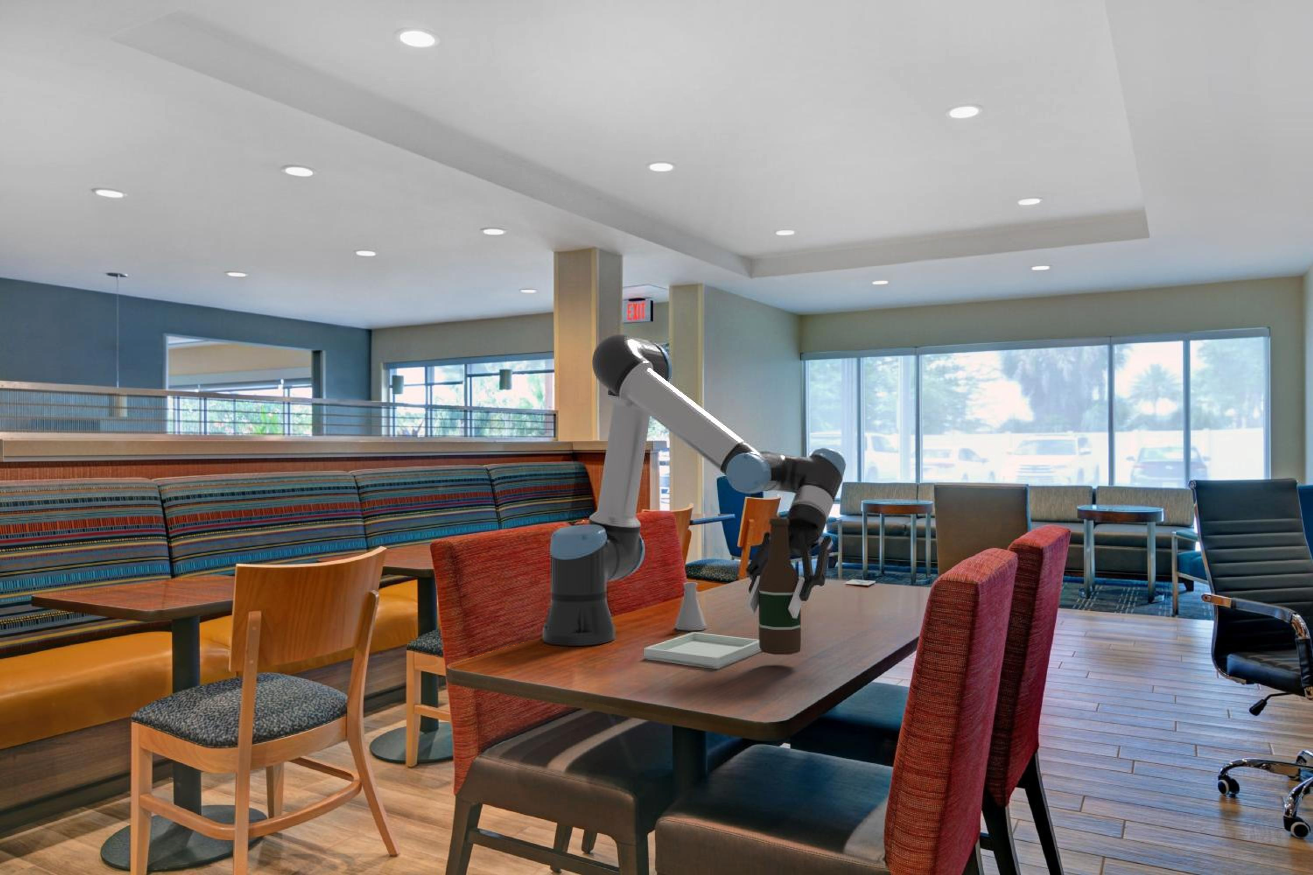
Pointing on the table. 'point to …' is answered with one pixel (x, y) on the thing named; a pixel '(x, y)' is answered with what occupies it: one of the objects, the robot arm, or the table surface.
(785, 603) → the beer bottle
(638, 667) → the table surface
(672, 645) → the tray
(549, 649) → the table surface
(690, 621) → the flask
